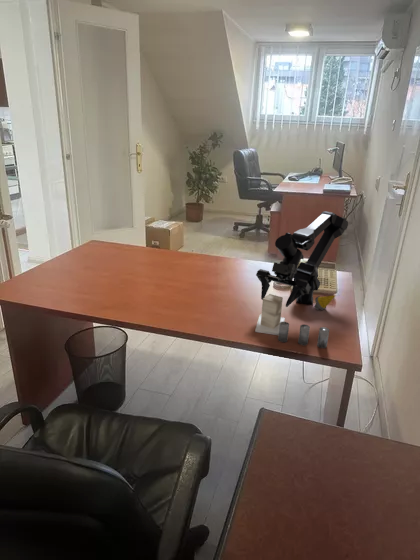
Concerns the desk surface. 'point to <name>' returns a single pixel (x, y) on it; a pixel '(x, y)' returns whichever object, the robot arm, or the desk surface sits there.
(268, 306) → the birch block
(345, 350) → the desk surface
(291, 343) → the desk surface
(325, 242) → the robot arm
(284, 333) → the steel spacer
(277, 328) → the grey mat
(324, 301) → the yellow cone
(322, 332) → the block
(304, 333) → the cylinder
